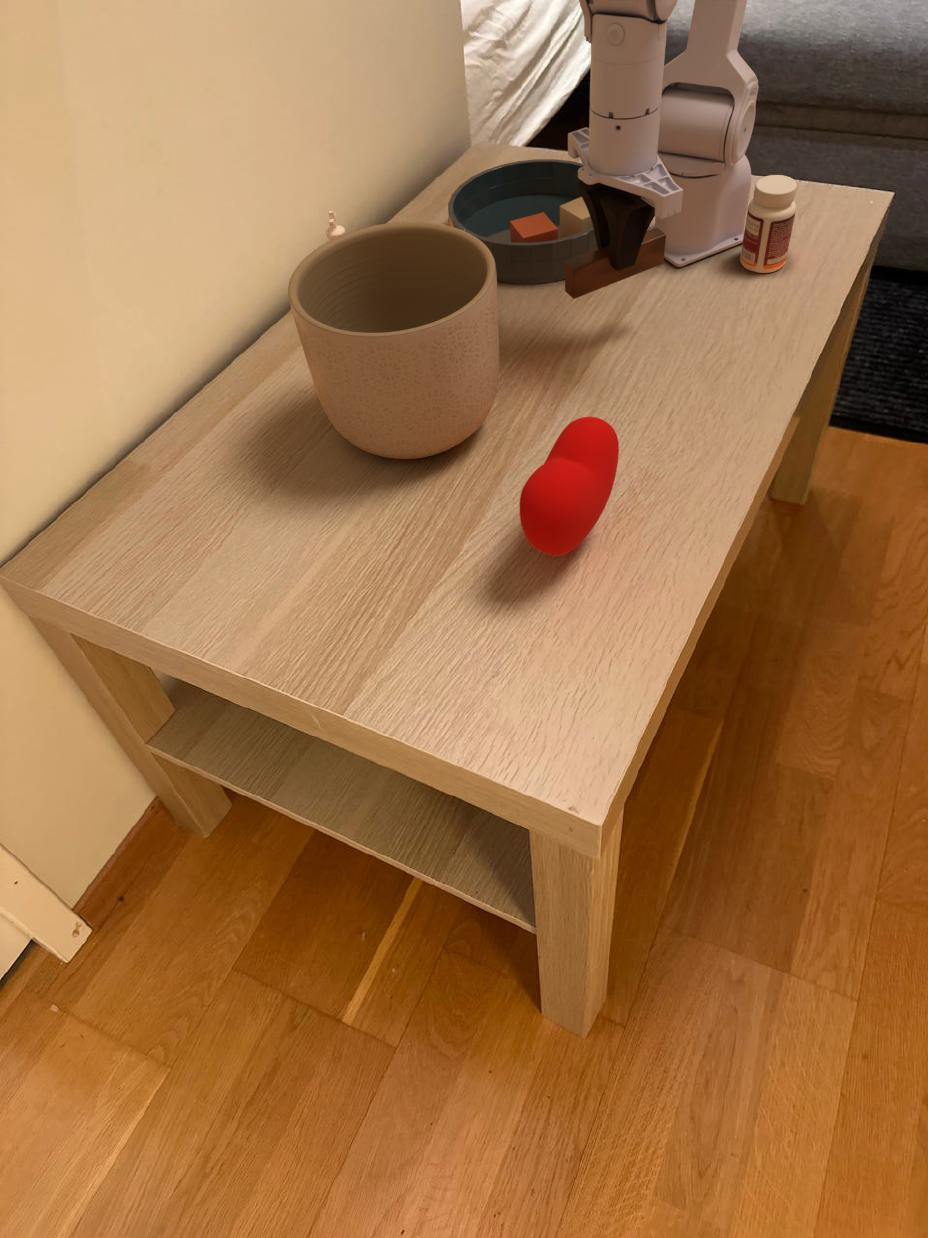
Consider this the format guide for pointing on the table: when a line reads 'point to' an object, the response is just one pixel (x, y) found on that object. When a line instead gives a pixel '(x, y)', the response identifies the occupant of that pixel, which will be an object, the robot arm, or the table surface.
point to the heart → (570, 487)
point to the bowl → (516, 195)
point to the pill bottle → (769, 224)
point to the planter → (400, 335)
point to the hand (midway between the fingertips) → (617, 260)
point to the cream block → (574, 218)
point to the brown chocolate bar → (598, 265)
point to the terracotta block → (533, 229)
